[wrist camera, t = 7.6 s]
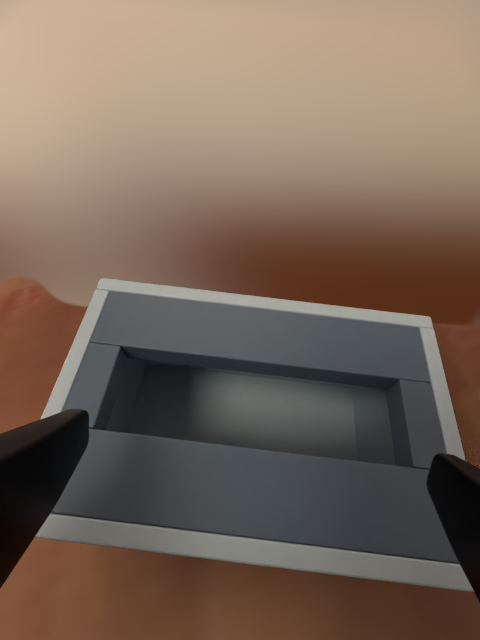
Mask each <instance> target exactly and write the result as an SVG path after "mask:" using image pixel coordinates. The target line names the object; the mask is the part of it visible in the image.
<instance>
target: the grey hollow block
mask: <svg viewBox="0 0 480 640" xmlns="http://www.w3.org/2000/svg"><path fill="white" fill-rule="evenodd" d="M96 289H97V290H95V292H94V294H93V297H92V299H91V302H90V304H89V306H88V309H87V311H86V313H85V316H84V318H83V320H82V323H81V325H80V327H79V330H78V332H77V334H76V337H75V339H74V342H73V344H72V346H71V349H70V351H69V353H68V356H67V358H66V360H65V363H64V365H63V367H62V370H61V372H60V374H59V377H58V379H57V382H56V384H55V386H54V389H53V391H52V393H51V396H50V398H49V400H48V403H47V405H46V407H45V410H44V412H43V415H42V417H41V419H43V418H46V417H49V416H52V415H54V414H57V413H60V412H63V411H65V410H68V409H73V408H74V409H82V410H86V411H87V412H88V414H89V442H88V445H87V448H86V450H85V452H84V454H83V456H82V457H81V459H80V461H79V463H78V465H77V467H76V469H75V471H74V472H73V474H72V476H71V478H70V480H69V482H68V484H67V486H66V487H65V489H64V491H63V493H62V495H61V497H60V498H59V500H58V502H57V504H56V505H55V507H54V508H53V510H52V512H51V513H50V515H49V516H48V518H47V519H46V521H45V522H44V524H43V525H42V527H41V528H40V530H39V531H38V533H37V534H36V536H35V538H43V539H51V540H59V541H67V542H75V543H83V544H91V545H99V546H107V547H115V548H123V549H131V550H139V551H148V552H156V553H164V554H172V555H180V556H188V557H196V558H204V559H212V560H220V561H228V562H236V563H244V564H252V565H260V566H268V567H276V568H284V569H292V570H300V571H308V572H316V573H324V574H332V575H340V576H348V577H356V578H364V579H372V580H380V581H388V582H396V583H404V584H412V585H420V586H428V587H436V588H444V589H452V590H460V591H468V592H474V591H473V589H472V587H471V585H470V583H469V581H468V579H467V577H466V575H465V573H464V571H463V570H462V568H461V566H460V564H459V562H458V560H457V558H456V556H455V554H454V551H453V549H452V547H451V545H450V542H449V540H448V538H447V535H446V533H445V531H444V528H443V526H442V523H441V521H440V519H439V516H438V514H437V511H436V509H435V507H434V504H433V502H432V500H431V497H430V495H429V492H428V490H427V484H426V482H427V476H428V473H429V470H430V467H431V463H432V460H433V457H434V456H435V455H436V454H437V453H444V454H452V455H455V456H457V457H459V458H461V459H463V460H464V461H466V460H465V456H464V452H463V448H462V444H461V440H460V435H459V431H458V427H457V423H456V419H455V415H454V411H453V407H452V403H451V398H450V394H449V390H448V386H447V382H446V378H445V374H444V370H443V365H442V361H441V357H440V353H439V349H438V345H437V341H436V337H435V333H434V329H433V325H432V321H431V318H430V317H427V316H419V315H410V314H402V313H393V312H385V311H377V310H368V309H359V308H350V307H342V306H334V305H326V304H317V303H308V302H300V301H292V300H283V299H275V298H266V297H258V296H248V295H240V294H232V293H224V292H215V291H206V290H199V289H190V288H182V287H173V286H165V285H156V284H148V283H139V282H130V281H122V280H114V279H105V278H101V279H100V281H99V283H98V285H97V287H96ZM41 419H40V420H41Z"/></svg>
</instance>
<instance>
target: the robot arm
mask: <svg viewBox="0 0 480 640" xmlns="http://www.w3.org/2000/svg"><path fill="white" fill-rule="evenodd" d="M88 442H89V414H88V412H87V411H86V410H82V409H74V408H73V409H68V410H65V411H63V412H60V413H57V414H54V415H52V416H49V417H46V418H43V419H41V420H38V421H35V422H32V423H30V424H27V425H24V426H21V427H19V428H16V429H13V430H10V431H8V432H5V433H2V434H0V588H1V587H2V585H3V584H4V582H5V581H6V579H7V578H8V576H9V575H10V573H11V572H12V570H13V569H14V567H15V566H16V564H17V563H18V561H19V560H20V558H21V557H22V555H23V554H24V552H25V551H26V549H27V548H28V546H29V545H30V543H31V542H32V540H33V539H34V537H35V536H36V534H37V533H38V531H39V530H40V528H41V527H42V525H43V524H44V522H45V521H46V519H47V518H48V516H49V515H50V513H51V512H52V510H53V508H54V507H55V505H56V504H57V502H58V500H59V498H60V497H61V495H62V493H63V491H64V489H65V487H66V486H67V484H68V482H69V480H70V478H71V476H72V474H73V472H74V471H75V469H76V467H77V465H78V463H79V461H80V459H81V457H82V456H83V454H84V452H85V450H86V448H87V445H88ZM426 484H427V490H428V492H429V495H430V497H431V500H432V502H433V504H434V507H435V509H436V511H437V514H438V516H439V519H440V521H441V523H442V526H443V528H444V531H445V533H446V535H447V538H448V540H449V542H450V545H451V547H452V549H453V551H454V554H455V556H456V558H457V560H458V562H459V564H460V566H461V568H462V570H463V571H464V573H465V575H466V577H467V579H468V581H469V583H470V585H471V587H472V589H473V591H474V593H475V594H476V596H477V598H478V600H479V602H480V469H479V468H477V467H475V466H474V465H472V464H470V463H468V462H466V461H464V460H463V459H461V458H459V457H457V456H455V455H452V454H444V453H437V454H436V455H435V456H434V457H433V460H432V463H431V467H430V470H429V473H428V476H427V482H426Z"/></svg>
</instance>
